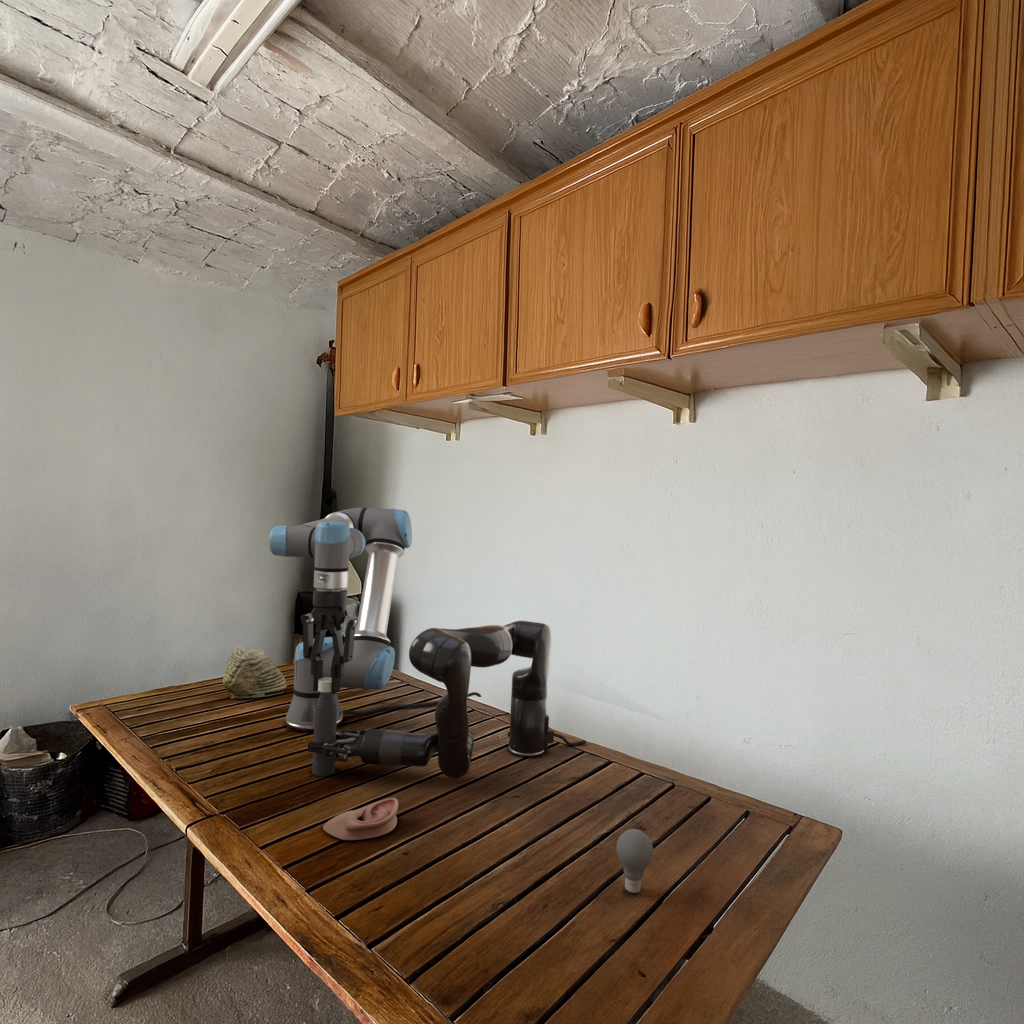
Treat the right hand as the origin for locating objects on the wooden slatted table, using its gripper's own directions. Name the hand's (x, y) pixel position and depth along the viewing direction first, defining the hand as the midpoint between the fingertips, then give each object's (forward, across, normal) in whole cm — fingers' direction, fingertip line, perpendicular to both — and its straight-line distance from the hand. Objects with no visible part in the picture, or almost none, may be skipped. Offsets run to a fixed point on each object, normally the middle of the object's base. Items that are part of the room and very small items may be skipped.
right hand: (313, 741), depth 146 cm
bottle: (-3, 0, +7) cm, 7 cm away
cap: (-3, 0, -14) cm, 15 cm away
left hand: (-3, 0, -12) cm, 12 cm away
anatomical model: (-19, +22, +7) cm, 30 cm away
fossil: (+39, -49, +7) cm, 63 cm away
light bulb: (-69, +35, +7) cm, 78 cm away
